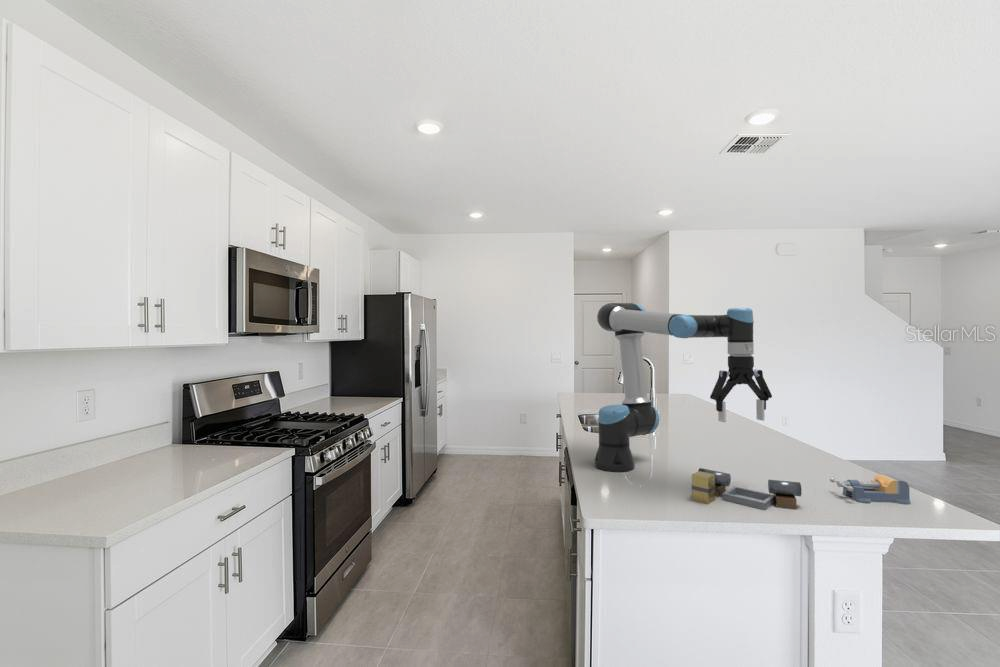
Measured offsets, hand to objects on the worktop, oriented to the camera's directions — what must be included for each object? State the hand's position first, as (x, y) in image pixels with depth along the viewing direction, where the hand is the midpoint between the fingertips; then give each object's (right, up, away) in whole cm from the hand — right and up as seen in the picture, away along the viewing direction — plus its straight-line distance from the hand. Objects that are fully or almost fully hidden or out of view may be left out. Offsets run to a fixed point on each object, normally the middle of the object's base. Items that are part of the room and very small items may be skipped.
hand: (741, 420), depth 150 cm
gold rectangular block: (-15, -23, -7) cm, 29 cm away
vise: (+36, -23, -7) cm, 43 cm away
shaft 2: (+7, -23, -12) cm, 27 cm away
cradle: (-2, -23, -8) cm, 25 cm away
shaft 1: (-9, -23, 0) cm, 25 cm away
